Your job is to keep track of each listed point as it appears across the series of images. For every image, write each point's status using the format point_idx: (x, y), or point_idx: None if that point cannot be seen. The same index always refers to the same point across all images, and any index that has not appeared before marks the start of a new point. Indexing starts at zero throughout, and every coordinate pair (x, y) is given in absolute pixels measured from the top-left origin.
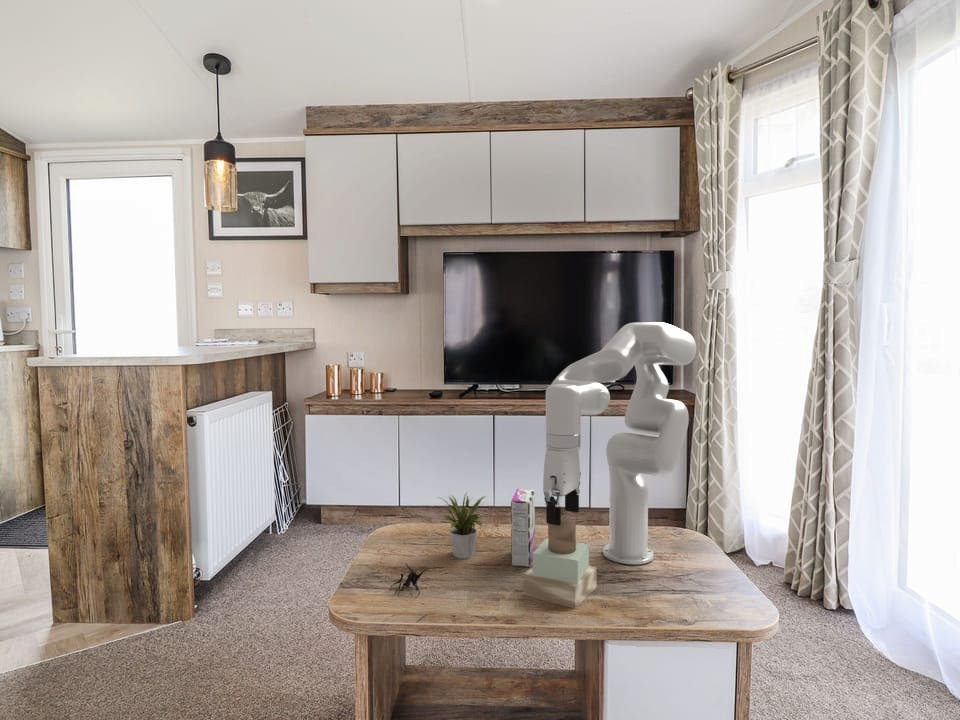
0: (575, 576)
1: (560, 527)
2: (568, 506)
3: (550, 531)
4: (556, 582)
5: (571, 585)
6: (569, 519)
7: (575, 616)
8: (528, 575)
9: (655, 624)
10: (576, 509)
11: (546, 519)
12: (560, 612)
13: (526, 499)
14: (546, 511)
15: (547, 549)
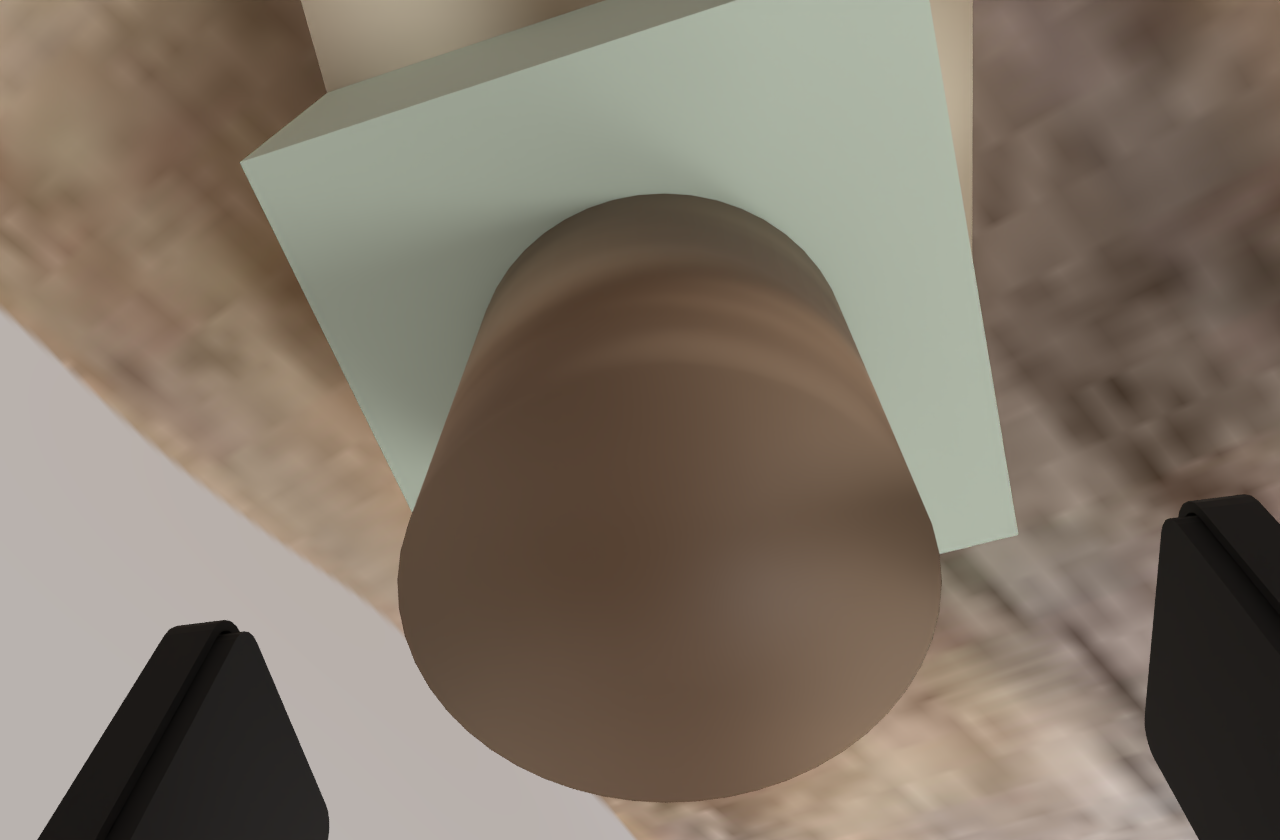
0: None
1: (440, 694)
2: (1211, 646)
3: (436, 448)
4: None
5: None
6: (893, 636)
7: (382, 488)
8: (315, 35)
9: (654, 825)
10: (1168, 777)
11: (149, 665)
12: (345, 386)
13: None
14: (58, 814)
15: (510, 241)
